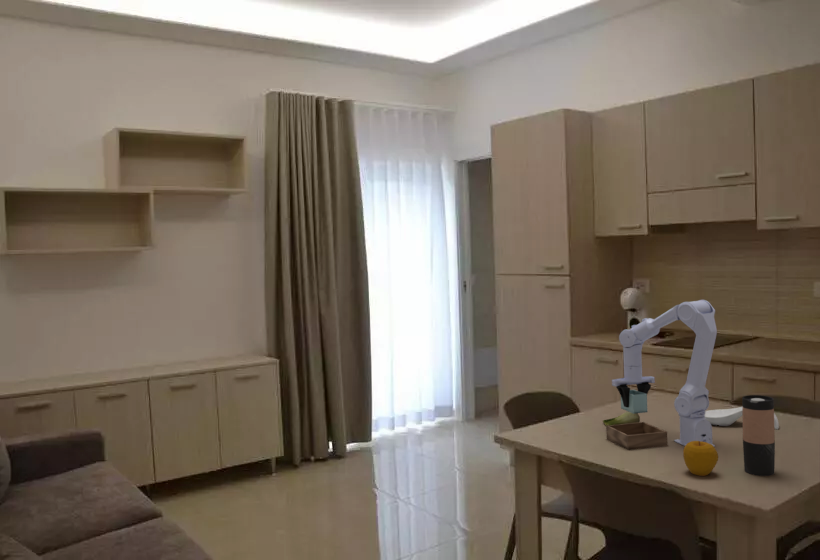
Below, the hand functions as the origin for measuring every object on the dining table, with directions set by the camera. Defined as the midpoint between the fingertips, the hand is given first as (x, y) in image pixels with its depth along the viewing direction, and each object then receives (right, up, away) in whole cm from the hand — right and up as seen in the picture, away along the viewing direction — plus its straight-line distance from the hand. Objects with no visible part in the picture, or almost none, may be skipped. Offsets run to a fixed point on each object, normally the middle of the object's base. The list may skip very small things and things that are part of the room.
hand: (634, 406), depth 232 cm
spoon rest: (+36, -7, +2) cm, 37 cm away
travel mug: (+19, -10, -45) cm, 50 cm away
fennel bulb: (+4, -5, +9) cm, 11 cm away
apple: (+4, -10, -45) cm, 46 cm away
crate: (-4, -9, -13) cm, 17 cm away
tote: (0, -1, 0) cm, 2 cm away
